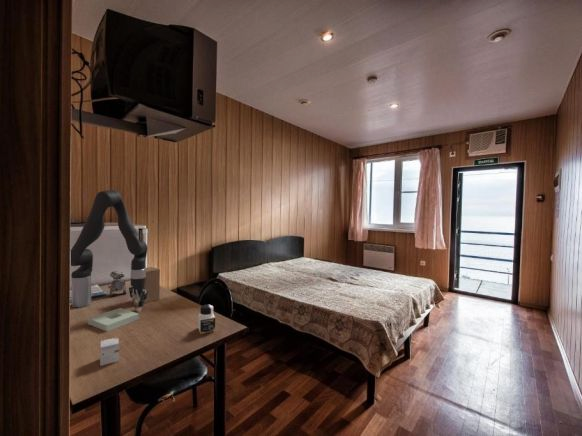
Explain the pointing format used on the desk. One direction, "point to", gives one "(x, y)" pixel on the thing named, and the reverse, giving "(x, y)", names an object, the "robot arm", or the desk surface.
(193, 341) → the desk surface
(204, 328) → the medicine bottle
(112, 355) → the skincare box
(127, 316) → the seat board
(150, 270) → the wooden block
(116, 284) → the figurine
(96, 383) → the desk surface
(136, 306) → the peg
